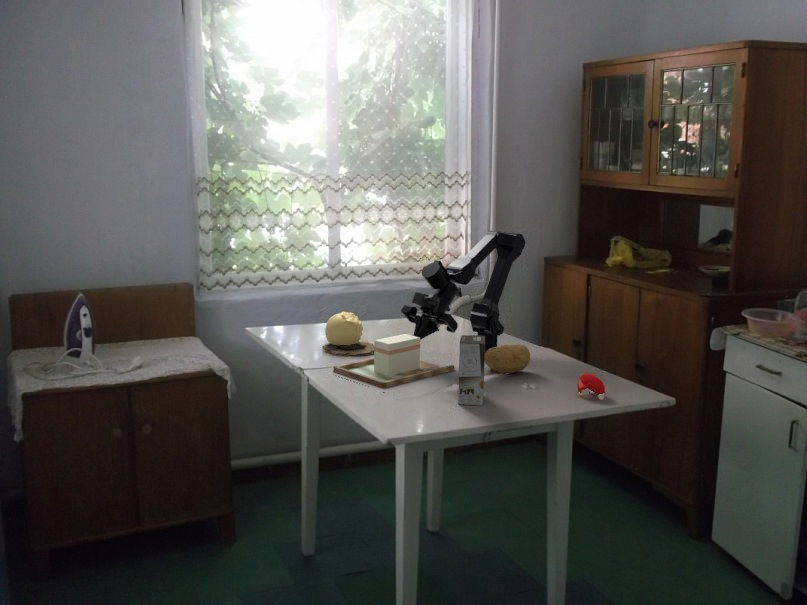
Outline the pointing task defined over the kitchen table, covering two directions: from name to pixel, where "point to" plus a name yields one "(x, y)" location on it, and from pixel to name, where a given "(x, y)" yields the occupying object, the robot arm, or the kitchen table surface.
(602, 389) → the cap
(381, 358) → the cream block
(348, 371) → the tray
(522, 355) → the potato
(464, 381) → the coffee box
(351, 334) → the sculpture
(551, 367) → the kitchen table surface
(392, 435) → the kitchen table surface
